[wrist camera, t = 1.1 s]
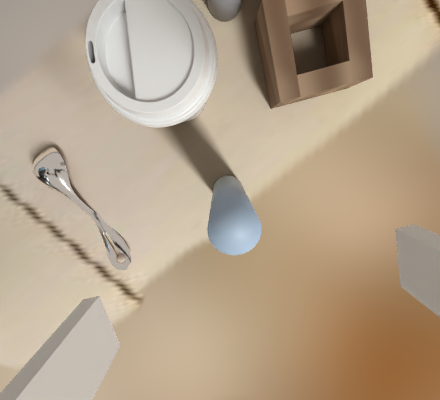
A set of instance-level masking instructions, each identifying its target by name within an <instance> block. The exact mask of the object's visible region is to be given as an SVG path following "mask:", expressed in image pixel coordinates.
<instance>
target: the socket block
mask: <svg viewBox="0 0 440 400" xmlns="http://www.w3.org/2000/svg"><path fill="white" fill-rule="evenodd" d="M320 25H322V31H323V38H324V46H325V53H326V61H327V67H325V68H321V69H318V70H314V71H310V72H307V73H303V74H299V75H297V72H296V65H295V59H294V53H293V47H292V41H291V34H292V33H295V32H299V31H302V30H306V29H309V28H313V27H316V26H320ZM255 28H256V33H257V38H258V43H259V49H260V54H261V59H262V64H263V70H264V75H265V80H266V85H267V91H268V96H269V101H270V106H271V109H272V108H275V107H279V106H283V105H287V104H290V103H294V102H298V101H302V100H305V99H309V98H313V97H316V96H320V95H324V94H328V93H331V92H335V91H339V90H343V89H346V88H349V87H352V86H354V85H356V84H358V83H361V82H363V81H365V80H368V79H370V78H372V77H373V74H372V63H371V52H370V41H369V30H368V19H367V8H366V0H261V2H260V6H259V9H258V13H257V16H256V20H255Z"/></svg>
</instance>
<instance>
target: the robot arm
mask: <svg viewBox="0 0 440 400" xmlns="http://www.w3.org/2000/svg"><path fill="white" fill-rule="evenodd" d="M396 241H397V253H398V264H399V275H400V286H401V287H402V288H404V289H405V290H406V291H407V292H409V293H410V294H411V295H412V296H414V297H415V298H416V299H417V300H419V301H420V302H421V303H422V304H424V305H425V306H427V308H429V309H430V310H431V311H433V312H434V313H435V314H436V315H438V316H439V317H440V235H438V234H436V233H434V232H431V231H429V230H426V229H424V228H422V227H419V226H417V225H410V226H406V227H401V228H397V229H396ZM119 347H120V343H119V341H118V339H117V337H116V334H115V332H114V329H113V327H112V325H111V322H110V320H109V318H108V315H107V313H106V311H105V308H104V306H103V304H102V301H101V299H100V297H99V296H97V297H93V298H88V299H84V300H83V301H82V302H81V303H80V304H79V305H78V306H77V307H76V308H75V310H74V311H73V312H72V313H71V314H70V315H69V316H68V318H67V319H66V320H65V321H64V322H63V323H62V324H61V325H60V327H59V328H58V329H57V330H56V331H55V332H54V333H53V334H52V336H51V337H50V338H49V339H48V340H47V341H46V342H45V343H44V345H43V346H42V347H41V348H40V349H39V350H38V351H37V352H36V354H35V355H34V356H33V357H32V358H31V359H30V360H29V361H28V363H27V364H26V365H25V366H24V367H23V368H22V369H21V371H20V372H19V373H18V374H17V375H16V376H15V377H14V378H13V380H12V381H11V382H10V383H9V384H8V385H7V386H6V388H5V389H4V390H3V391H2V392H1V393H0V400H93V398H94V396H95V394H96V392H97V390H98V388H99V386H100V384H101V382H102V380H103V378H104V376H105V374H106V372H107V370H108V368H109V366H110V364H111V362H112V360H113V358H114V356H115V354H116V352H117V350H118V349H119Z"/></svg>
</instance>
